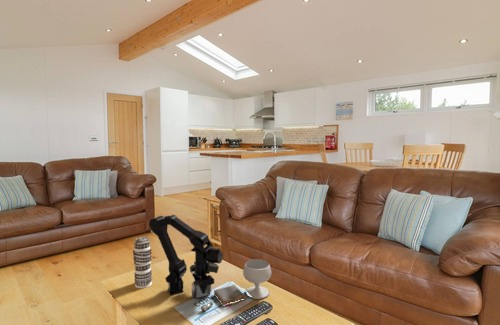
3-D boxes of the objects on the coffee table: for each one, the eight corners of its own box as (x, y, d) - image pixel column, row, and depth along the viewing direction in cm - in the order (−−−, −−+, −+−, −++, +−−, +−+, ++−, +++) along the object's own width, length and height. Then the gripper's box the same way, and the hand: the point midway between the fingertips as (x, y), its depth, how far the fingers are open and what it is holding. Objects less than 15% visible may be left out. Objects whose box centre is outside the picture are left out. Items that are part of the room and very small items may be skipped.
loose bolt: (205, 312, 128) (205, 307, 128) (200, 310, 130) (201, 305, 129) (213, 306, 133) (213, 300, 133) (209, 304, 135) (209, 299, 134)
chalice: (252, 283, 154) (252, 256, 153) (276, 290, 147) (276, 261, 146) (237, 295, 142) (237, 266, 141) (262, 304, 135) (262, 273, 134)
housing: (193, 298, 137) (193, 286, 137) (190, 293, 142) (190, 282, 141) (213, 293, 142) (213, 281, 142) (209, 288, 146) (209, 277, 146)
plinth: (223, 306, 133) (223, 301, 133) (214, 295, 142) (214, 290, 142) (244, 300, 138) (244, 294, 138) (234, 289, 148) (234, 284, 148)
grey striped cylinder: (132, 289, 148) (130, 241, 146) (135, 280, 157) (134, 235, 155) (151, 287, 150) (149, 240, 148) (153, 279, 159) (152, 234, 157)
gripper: (224, 264, 136) (224, 295, 138) (209, 250, 152) (210, 279, 154) (201, 269, 131) (202, 302, 132) (189, 254, 147) (189, 284, 148)
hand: (201, 291), depth 142 cm, fingers closed on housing, 5 cm apart
